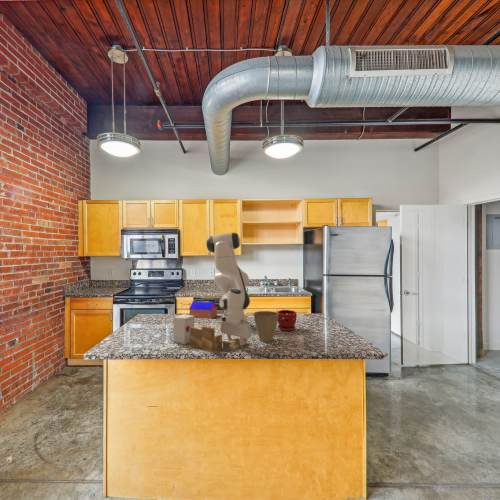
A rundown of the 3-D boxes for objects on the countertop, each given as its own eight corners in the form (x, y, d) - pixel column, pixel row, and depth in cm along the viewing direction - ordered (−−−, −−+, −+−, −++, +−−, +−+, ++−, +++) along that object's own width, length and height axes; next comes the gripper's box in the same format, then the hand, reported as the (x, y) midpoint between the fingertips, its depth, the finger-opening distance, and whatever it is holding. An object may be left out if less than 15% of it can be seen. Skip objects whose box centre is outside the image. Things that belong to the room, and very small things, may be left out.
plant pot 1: (271, 345, 165) (271, 317, 165) (249, 341, 173) (249, 314, 173) (282, 338, 178) (282, 312, 178) (261, 335, 185) (261, 309, 185)
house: (210, 318, 233) (210, 303, 233) (189, 316, 239) (188, 302, 239) (217, 315, 244) (217, 301, 244) (196, 313, 251) (196, 300, 251)
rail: (242, 342, 171) (242, 334, 171) (247, 343, 169) (247, 335, 169) (222, 350, 157) (222, 341, 157) (227, 351, 155) (227, 343, 155)
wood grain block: (200, 341, 173) (200, 321, 173) (222, 347, 162) (222, 325, 162) (189, 345, 166) (189, 324, 166) (211, 351, 155) (211, 328, 156)
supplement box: (184, 344, 167) (184, 318, 167) (172, 342, 172) (172, 316, 172) (194, 340, 175) (194, 315, 175) (183, 338, 180) (183, 313, 180)
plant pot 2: (274, 330, 196) (274, 312, 196) (281, 326, 207) (281, 309, 207) (292, 332, 190) (292, 314, 190) (299, 328, 201) (299, 310, 201)
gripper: (253, 320, 160) (254, 345, 160) (226, 315, 172) (226, 338, 172) (246, 322, 155) (246, 348, 155) (218, 317, 167) (218, 341, 167)
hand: (235, 343), depth 163 cm, fingers open, 6 cm apart
